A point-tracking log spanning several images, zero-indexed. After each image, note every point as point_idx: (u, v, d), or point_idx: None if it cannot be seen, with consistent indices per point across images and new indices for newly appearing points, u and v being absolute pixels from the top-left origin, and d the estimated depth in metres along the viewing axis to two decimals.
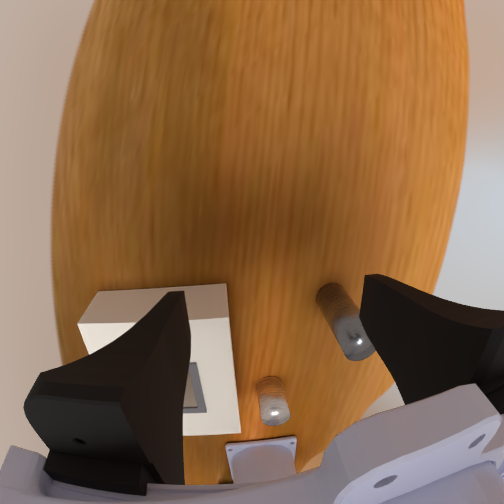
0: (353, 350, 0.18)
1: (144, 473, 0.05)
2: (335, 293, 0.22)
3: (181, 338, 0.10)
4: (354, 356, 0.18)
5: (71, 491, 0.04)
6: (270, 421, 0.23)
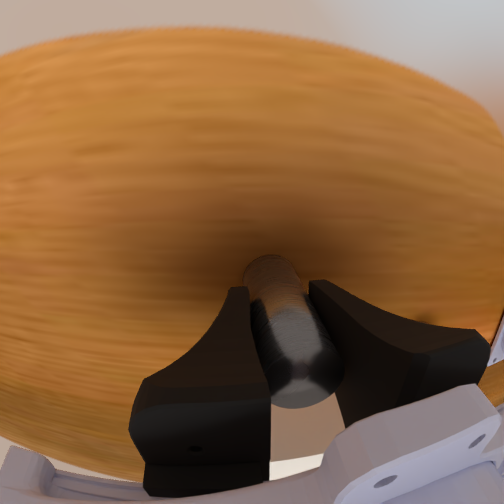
0: (309, 393, 0.08)
1: (260, 471, 0.05)
2: None
3: None
4: (327, 387, 0.08)
5: None
6: None
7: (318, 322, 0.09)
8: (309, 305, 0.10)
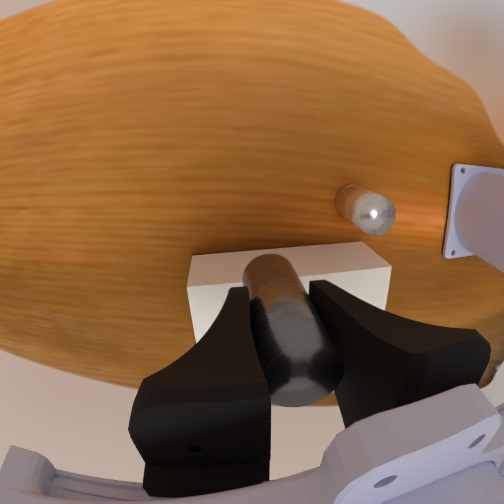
0: (310, 391, 0.08)
1: (260, 471, 0.05)
2: None
3: None
4: (327, 384, 0.08)
5: None
6: (384, 223, 0.17)
7: (317, 319, 0.09)
8: (308, 303, 0.10)
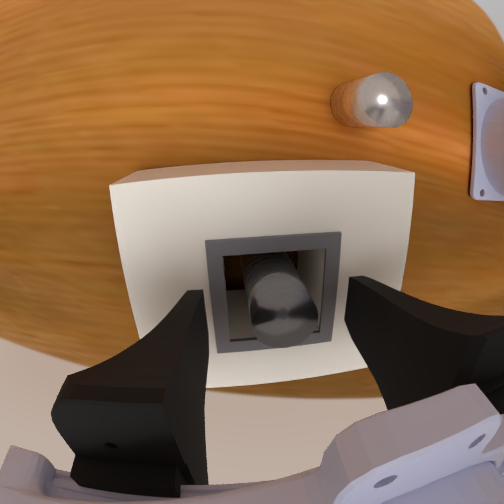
0: (291, 333, 0.11)
1: (178, 475, 0.05)
2: None
3: (202, 337, 0.10)
4: (306, 327, 0.11)
5: (99, 497, 0.04)
6: (399, 111, 0.11)
7: (296, 277, 0.12)
8: (290, 266, 0.13)
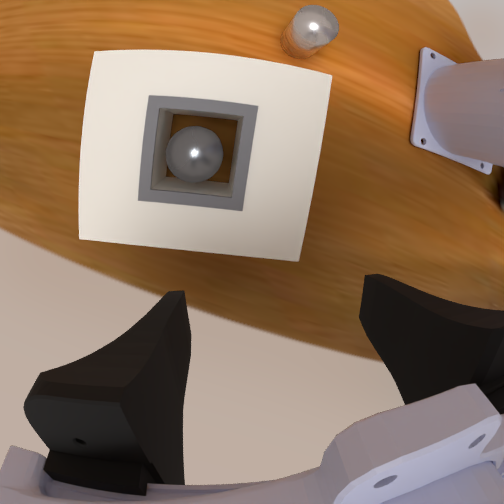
0: (198, 168, 0.13)
1: (144, 473, 0.05)
2: None
3: (181, 338, 0.10)
4: (210, 164, 0.13)
5: (71, 491, 0.04)
6: (325, 32, 0.13)
7: (214, 133, 0.14)
8: None
